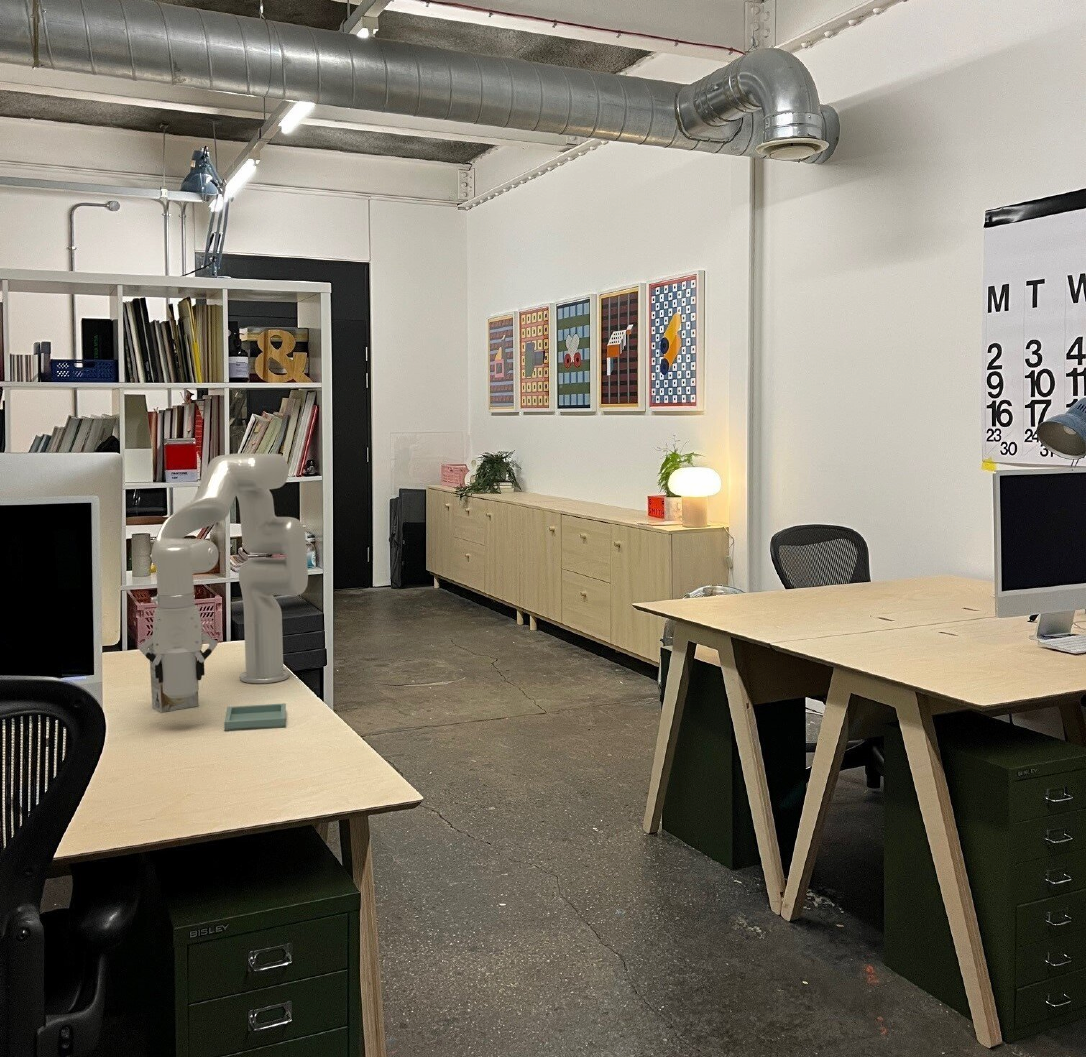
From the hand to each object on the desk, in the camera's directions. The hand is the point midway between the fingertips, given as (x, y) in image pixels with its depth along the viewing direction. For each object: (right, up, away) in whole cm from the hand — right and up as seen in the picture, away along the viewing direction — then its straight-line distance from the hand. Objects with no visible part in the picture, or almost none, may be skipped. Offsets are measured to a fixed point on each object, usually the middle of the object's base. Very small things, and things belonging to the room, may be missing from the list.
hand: (180, 679), depth 242 cm
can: (0, -4, +1) cm, 4 cm away
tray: (+15, -10, +6) cm, 19 cm away
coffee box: (-7, -9, +18) cm, 22 cm away
